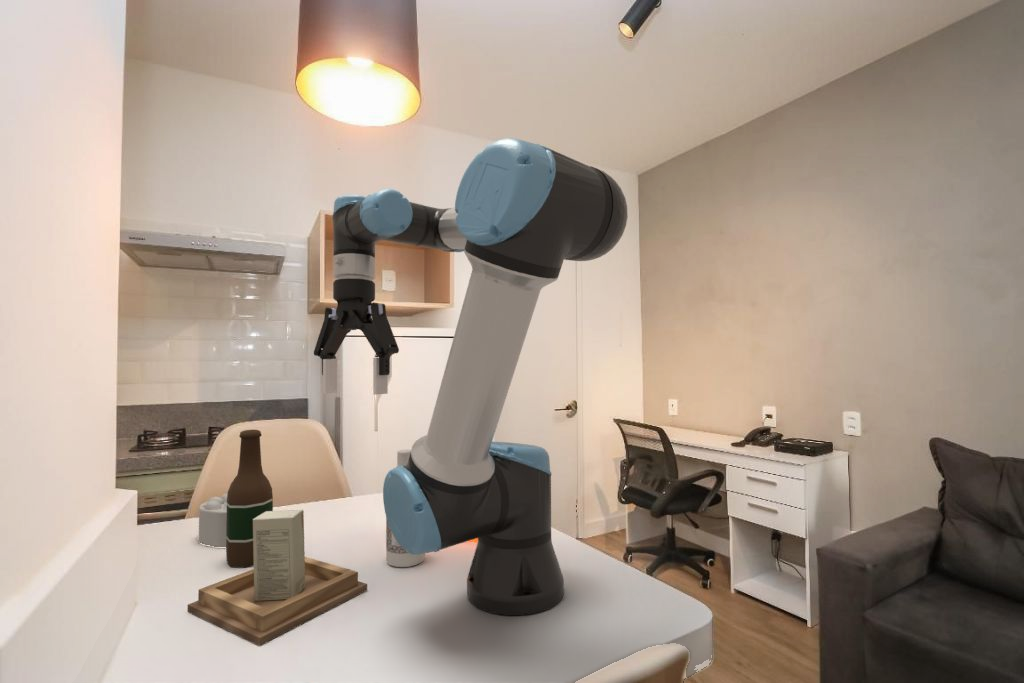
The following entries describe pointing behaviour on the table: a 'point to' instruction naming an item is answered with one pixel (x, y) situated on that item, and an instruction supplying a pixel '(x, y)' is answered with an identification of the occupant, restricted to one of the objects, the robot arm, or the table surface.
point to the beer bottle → (246, 501)
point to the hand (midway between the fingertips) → (354, 393)
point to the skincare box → (278, 554)
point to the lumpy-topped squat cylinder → (213, 521)
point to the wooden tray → (275, 602)
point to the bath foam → (393, 549)
